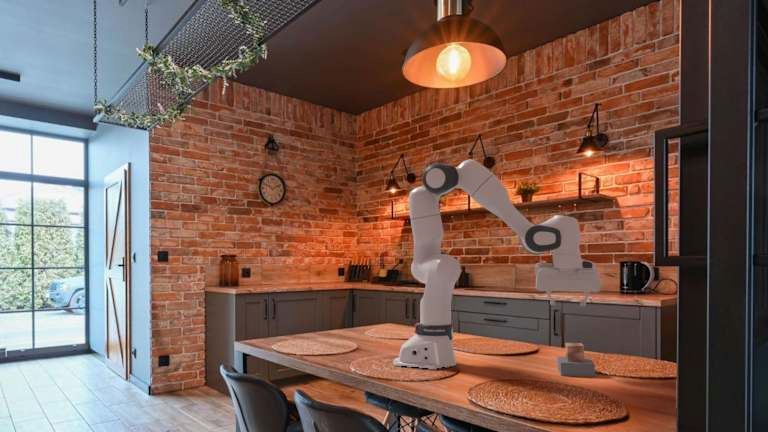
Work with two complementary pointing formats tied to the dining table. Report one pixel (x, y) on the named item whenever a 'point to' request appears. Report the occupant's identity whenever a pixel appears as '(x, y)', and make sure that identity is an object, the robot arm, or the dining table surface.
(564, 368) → the base block
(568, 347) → the cube
